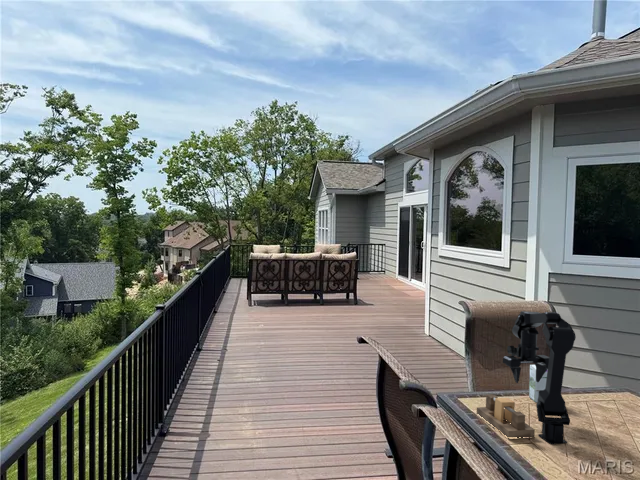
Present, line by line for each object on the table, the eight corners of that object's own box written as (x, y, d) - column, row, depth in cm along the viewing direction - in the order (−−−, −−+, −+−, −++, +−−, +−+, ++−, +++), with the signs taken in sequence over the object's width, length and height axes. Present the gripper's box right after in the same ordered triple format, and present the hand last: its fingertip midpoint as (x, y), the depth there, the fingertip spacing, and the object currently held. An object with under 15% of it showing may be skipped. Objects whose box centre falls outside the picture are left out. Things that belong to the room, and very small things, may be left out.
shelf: (534, 438, 149) (535, 415, 149) (508, 439, 147) (509, 416, 147) (499, 413, 169) (500, 393, 168) (476, 415, 167) (477, 394, 167)
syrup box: (548, 403, 181) (549, 368, 181) (534, 402, 181) (535, 368, 181) (541, 397, 187) (543, 364, 187) (528, 397, 187) (529, 364, 187)
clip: (513, 422, 156) (514, 402, 156) (500, 423, 155) (501, 402, 155) (506, 417, 160) (507, 397, 160) (494, 418, 159) (495, 398, 159)
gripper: (535, 337, 180) (534, 374, 180) (495, 338, 176) (493, 376, 177) (555, 344, 169) (553, 384, 169) (512, 345, 166) (510, 385, 166)
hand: (527, 382), depth 171 cm, fingers open, 9 cm apart
